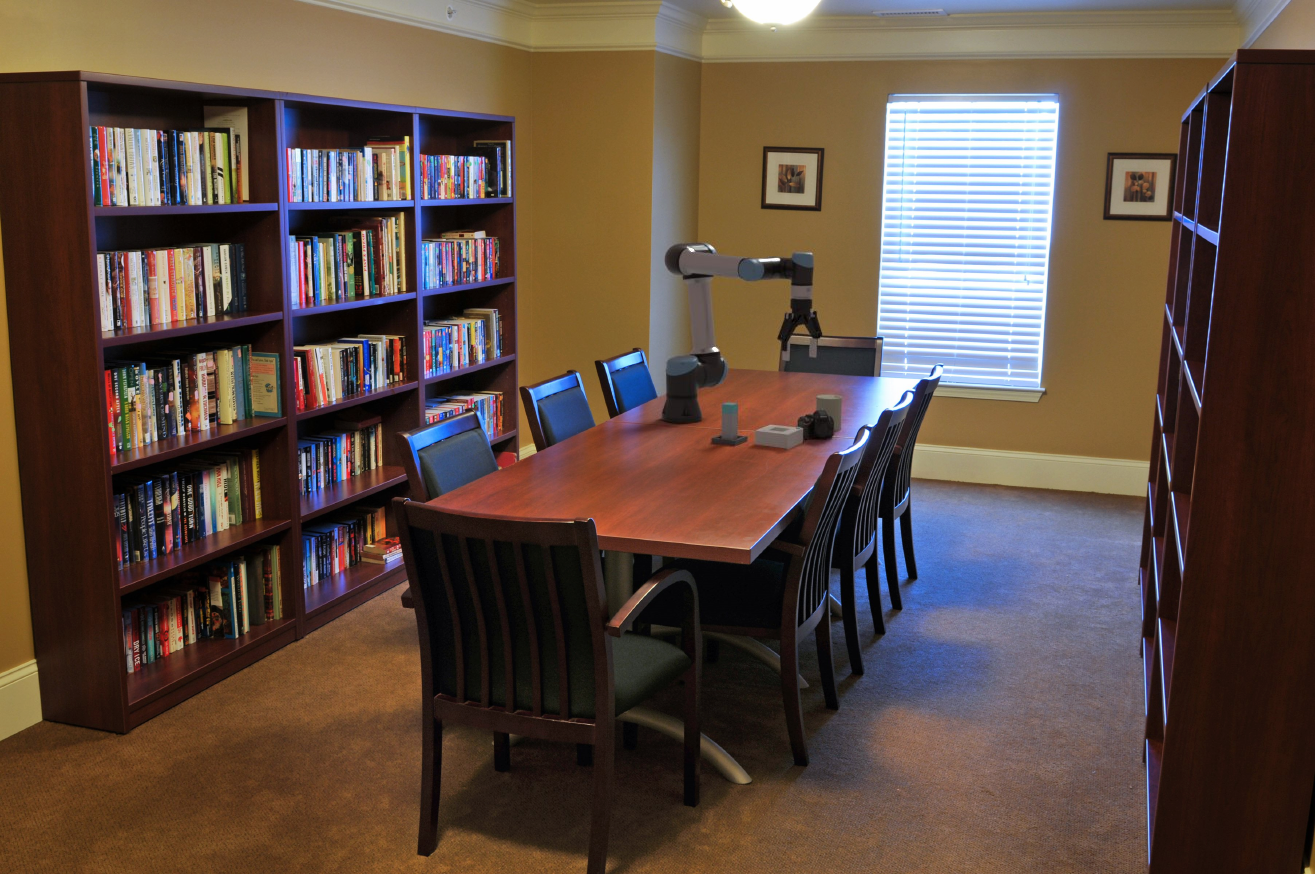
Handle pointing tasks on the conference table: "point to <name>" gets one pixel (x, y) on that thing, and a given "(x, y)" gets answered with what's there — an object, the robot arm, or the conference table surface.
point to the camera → (817, 425)
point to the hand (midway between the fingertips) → (799, 358)
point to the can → (831, 407)
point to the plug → (729, 421)
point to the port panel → (779, 436)
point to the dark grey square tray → (729, 442)
